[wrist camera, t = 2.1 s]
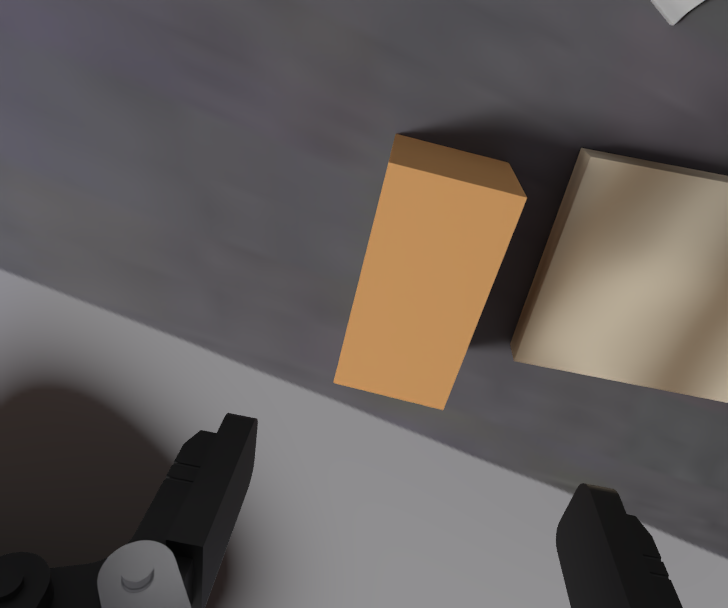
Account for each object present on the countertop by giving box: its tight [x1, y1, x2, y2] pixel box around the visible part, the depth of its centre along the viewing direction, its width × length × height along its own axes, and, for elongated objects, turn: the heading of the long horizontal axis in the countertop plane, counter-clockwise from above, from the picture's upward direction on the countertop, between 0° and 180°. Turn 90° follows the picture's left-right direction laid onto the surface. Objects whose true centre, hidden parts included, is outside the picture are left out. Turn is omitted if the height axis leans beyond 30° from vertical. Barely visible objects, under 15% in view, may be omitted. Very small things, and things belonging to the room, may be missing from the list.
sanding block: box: [334, 134, 527, 410], centre depth 23 cm, size 5×10×5 cm, turn 167°
